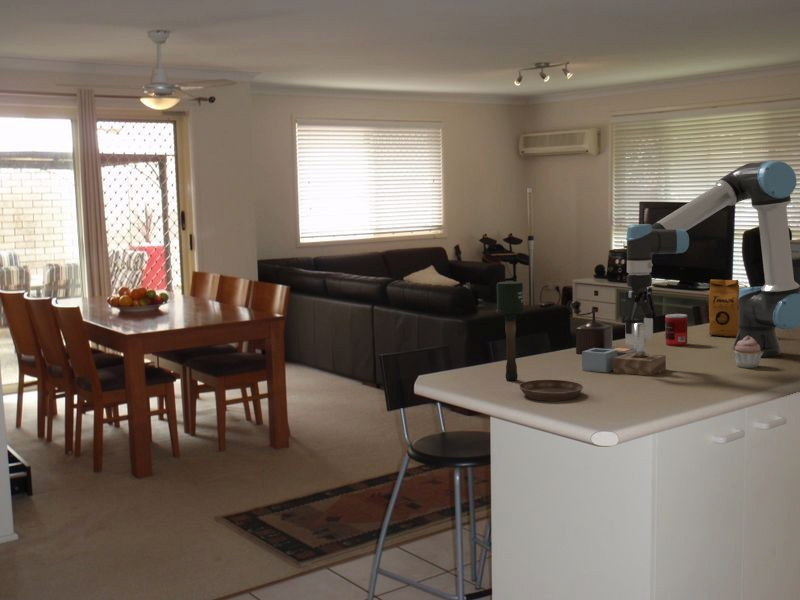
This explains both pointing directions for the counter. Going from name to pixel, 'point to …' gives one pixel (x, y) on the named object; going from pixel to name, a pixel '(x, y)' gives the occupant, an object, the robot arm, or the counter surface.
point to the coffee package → (724, 308)
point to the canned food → (676, 329)
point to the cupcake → (747, 353)
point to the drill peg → (639, 341)
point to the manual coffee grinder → (591, 332)
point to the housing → (622, 351)
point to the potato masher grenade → (510, 319)
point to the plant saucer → (551, 389)
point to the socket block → (640, 364)
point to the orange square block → (622, 349)
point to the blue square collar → (598, 359)
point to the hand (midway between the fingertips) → (639, 341)
